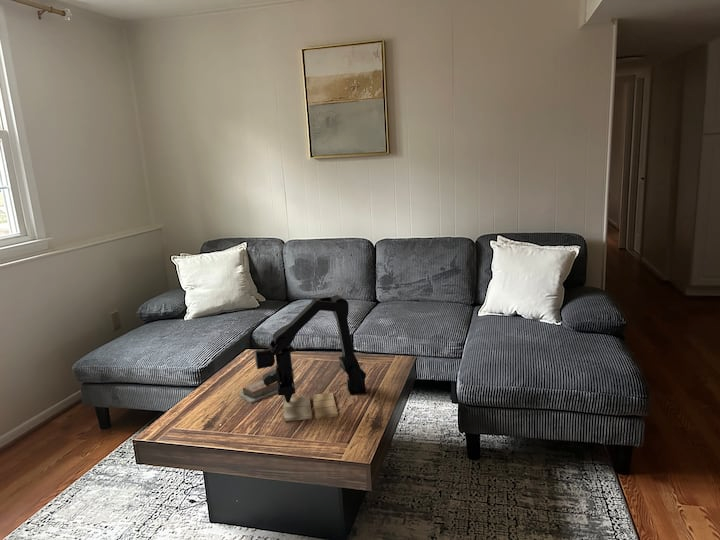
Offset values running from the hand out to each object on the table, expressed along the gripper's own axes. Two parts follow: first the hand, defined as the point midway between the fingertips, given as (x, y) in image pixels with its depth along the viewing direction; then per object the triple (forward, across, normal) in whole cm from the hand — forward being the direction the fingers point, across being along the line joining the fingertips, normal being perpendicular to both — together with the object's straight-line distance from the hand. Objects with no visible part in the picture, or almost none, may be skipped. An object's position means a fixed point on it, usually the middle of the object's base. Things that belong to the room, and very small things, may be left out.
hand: (288, 402), depth 202 cm
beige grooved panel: (+1, +5, +3) cm, 6 cm away
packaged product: (+2, -15, -10) cm, 18 cm away
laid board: (+2, +5, +14) cm, 14 cm away
